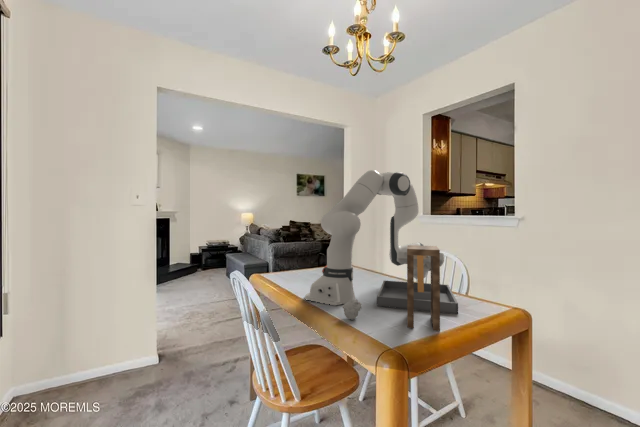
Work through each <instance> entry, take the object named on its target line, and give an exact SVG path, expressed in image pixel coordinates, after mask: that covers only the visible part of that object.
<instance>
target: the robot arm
mask: <svg viewBox="0 0 640 427" xmlns="http://www.w3.org/2000/svg"><path fill="white" fill-rule="evenodd" d="M377 195H379V196H381V195H382V196H389V197H390V196H392V197H393V203H394V208H395V209H394V214H393V216H391V217H390V227H389V231H390V232H389V236H390V237H389V242H390V243H389V244H390V246H389V248H390V249H389V255H388V256H389V260H390V262H391V263H392V264H393V265H395V266H397V267H399V266H401V265H402V266H403V265H407V246H408V245H416V246H425V245H424V244H422V243H421V242H413V243H408V244H403V245H401V244H400V245H399V231H400V230H401V229H402V228H403V227H404V226H406V225H408V224H409V223H411V222H413V221H414V220H415V219H416V218H417V217H418V215H419V204H418V203H419V202H418V198H417V194H416V190H415V188H414V186H413V184H411V180H410V178H409V176H408V175H407V174H406V173H404V172H401V171H395V172H390V171H389V172H382V173H380V172H378V171H377V170H373V169H370V170H368V171H366V172H364V174H363V175H361V176H360V177H359V178H358V179H357V181H356V182H355V183H354V184H353V185H352V187H351V188H350V189H349V190H348V192H347V193H346V194H345V195H344V196H343V198H342V199H341V200H340V201H338V202H337V203H336V204H335V205H334V206H333V207H332V208H331V209H329V211H328V212H326V213H325V214H324V215H323V216H321V217H322V218H321V219H320V227H321V228H322V230H323V231H324V232H326V233H327V234H328V235H331V237H330V242H329V246H328V247H327V249H326V265H325V266H324V267H323V268H322V270H321V273H322V276H319V278H317V279H316V280H315V281H313V283H312V284H311V286H310V287H309V288H310V289H309V292H308V293H307V294H305V296H304V300H305V299H307V300H311V301H316V302H315V303H317V302H320V303H319V304H323V303H325V304H324V305H329V304H330V306H338V305H339V306H340V305H344V304H345V303H347V302H349V301H351V300H352V299H356V298H357V297H356V295H355V291H354V283H353V280H354V268H353V247H354V242H355V239H356V236H357V234H358V232H359V231H360V230H361V226H362V225H361V220H360V218H359V216H360V215H361V214H362V213H364V212H365V211H366V210H367V208H368V207H369V205H370V204H371V203H372V201H373V200H374V199H375V197H376V196H377ZM444 255H445V254H444V253H442V252H440V267H442V266H443V265H444V262H445V256H444ZM423 268H424V279H425V278H426V277H427V276H428V273H429V272H431V256H423ZM414 279H415V280H417V255H414ZM356 300H357V299H356ZM311 301H310V302H311Z"/></svg>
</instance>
